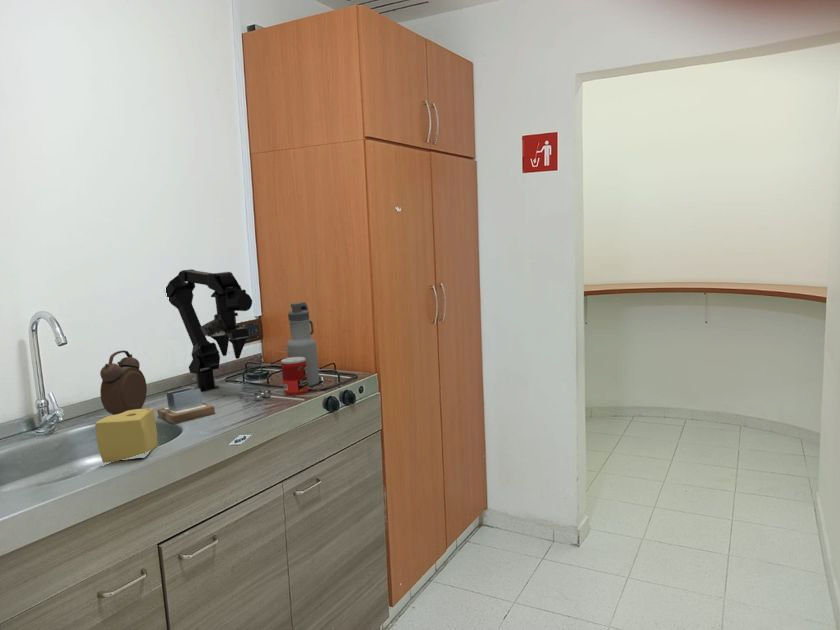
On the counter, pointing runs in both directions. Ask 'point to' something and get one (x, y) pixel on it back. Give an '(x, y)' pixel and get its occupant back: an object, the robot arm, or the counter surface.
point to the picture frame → (186, 413)
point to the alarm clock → (122, 385)
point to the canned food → (294, 375)
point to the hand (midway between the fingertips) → (231, 357)
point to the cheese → (126, 434)
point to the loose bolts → (262, 395)
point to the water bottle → (303, 340)
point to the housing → (184, 398)
